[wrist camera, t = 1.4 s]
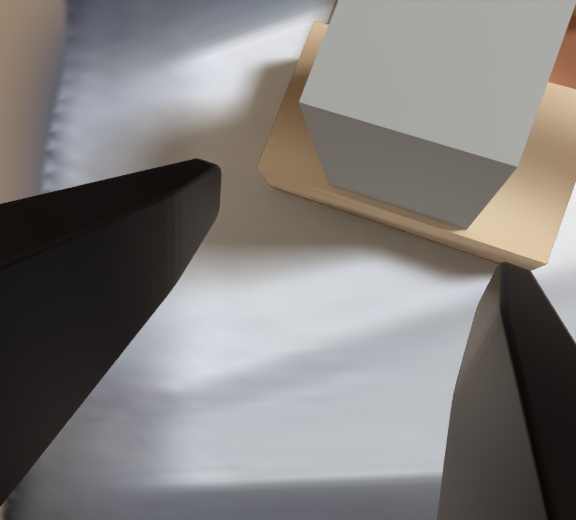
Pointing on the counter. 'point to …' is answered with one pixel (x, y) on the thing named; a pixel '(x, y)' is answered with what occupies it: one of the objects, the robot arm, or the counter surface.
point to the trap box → (499, 211)
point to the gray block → (430, 98)
